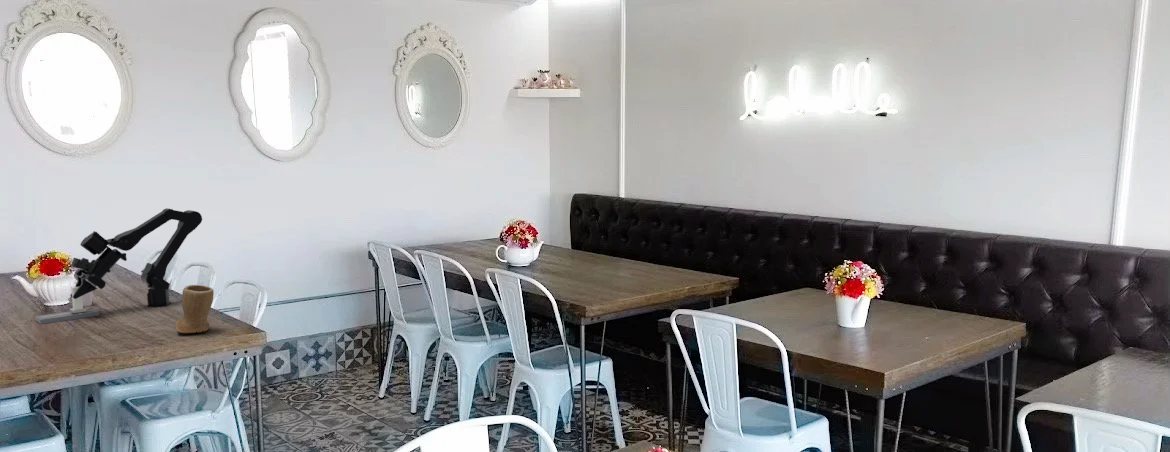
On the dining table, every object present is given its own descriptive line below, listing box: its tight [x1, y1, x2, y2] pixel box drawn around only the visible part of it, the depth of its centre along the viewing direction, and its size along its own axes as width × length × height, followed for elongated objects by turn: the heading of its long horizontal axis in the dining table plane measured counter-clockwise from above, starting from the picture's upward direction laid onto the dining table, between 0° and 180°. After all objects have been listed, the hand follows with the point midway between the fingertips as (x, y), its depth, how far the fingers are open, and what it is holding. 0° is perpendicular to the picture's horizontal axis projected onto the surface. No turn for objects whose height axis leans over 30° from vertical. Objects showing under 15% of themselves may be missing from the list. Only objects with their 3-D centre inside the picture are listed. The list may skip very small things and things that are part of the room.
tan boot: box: [175, 284, 215, 334], centre depth 281 cm, size 15×12×15 cm
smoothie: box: [74, 279, 94, 307], centre depth 324 cm, size 6×6×14 cm
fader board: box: [34, 307, 100, 325], centre depth 303 cm, size 18×8×2 cm, turn 133°
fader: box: [69, 286, 87, 313], centre depth 304 cm, size 4×5×9 cm
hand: (72, 297), depth 303 cm, fingers closed on fader, 3 cm apart
